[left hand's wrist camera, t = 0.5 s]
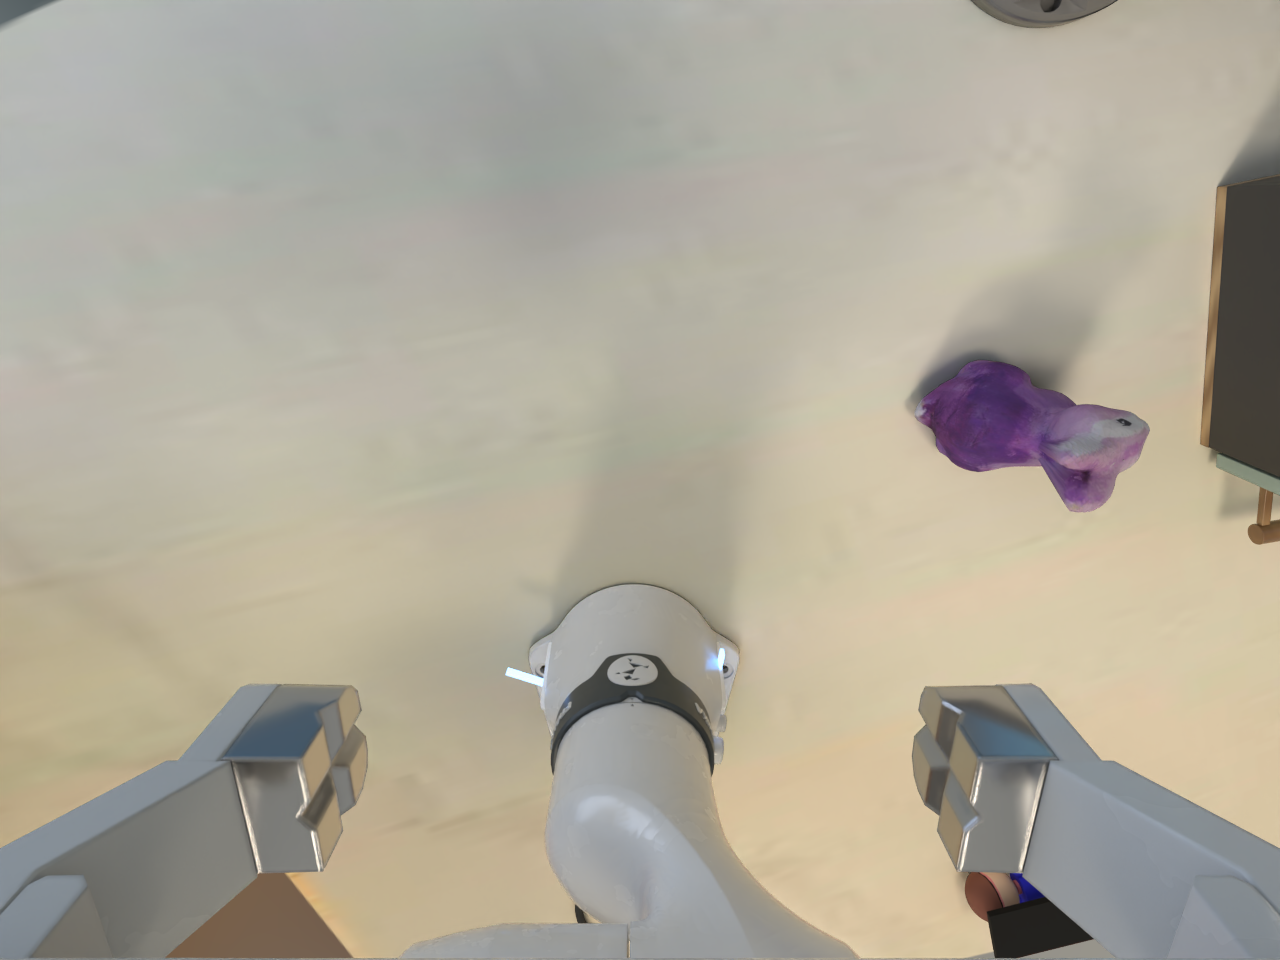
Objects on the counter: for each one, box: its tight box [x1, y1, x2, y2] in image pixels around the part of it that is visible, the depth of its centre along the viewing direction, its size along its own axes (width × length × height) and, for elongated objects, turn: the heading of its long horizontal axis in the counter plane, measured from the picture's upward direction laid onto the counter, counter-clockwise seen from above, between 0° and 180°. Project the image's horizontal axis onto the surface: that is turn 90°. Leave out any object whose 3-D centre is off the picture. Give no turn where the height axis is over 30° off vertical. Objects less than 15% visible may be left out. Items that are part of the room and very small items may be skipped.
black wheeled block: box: [965, 872, 1094, 958], centre depth 71 cm, size 7×8×15 cm
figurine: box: [915, 360, 1150, 512], centre depth 51 cm, size 9×10×15 cm
